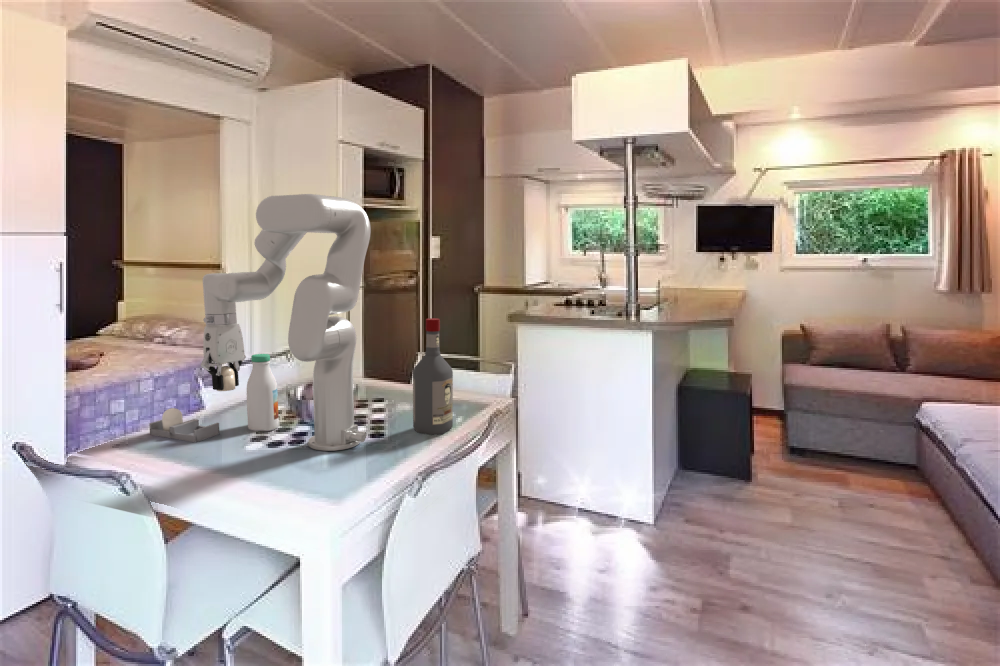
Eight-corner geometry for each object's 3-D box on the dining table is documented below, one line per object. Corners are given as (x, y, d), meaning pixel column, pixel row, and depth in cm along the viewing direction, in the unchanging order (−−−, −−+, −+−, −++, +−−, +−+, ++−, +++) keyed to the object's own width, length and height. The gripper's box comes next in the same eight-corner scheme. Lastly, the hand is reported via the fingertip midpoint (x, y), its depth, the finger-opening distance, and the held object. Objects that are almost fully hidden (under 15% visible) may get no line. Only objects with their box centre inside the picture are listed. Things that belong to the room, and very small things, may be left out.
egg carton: (219, 436, 156) (219, 422, 156) (195, 444, 149) (195, 430, 149) (175, 428, 162) (174, 416, 161) (150, 436, 155) (149, 423, 154)
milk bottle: (268, 433, 159) (265, 358, 156) (241, 431, 160) (238, 356, 158) (284, 425, 166) (281, 353, 164) (259, 423, 168) (256, 351, 165)
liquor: (409, 431, 162) (408, 319, 158) (427, 423, 170) (427, 316, 166) (438, 436, 158) (438, 322, 154) (456, 427, 166) (456, 318, 162)
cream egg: (187, 430, 158) (186, 407, 157) (172, 435, 154) (170, 411, 153) (174, 428, 160) (172, 405, 159) (158, 433, 155) (157, 409, 155)
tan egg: (239, 388, 165) (237, 365, 164) (226, 391, 161) (224, 368, 160) (226, 386, 167) (224, 364, 166) (212, 390, 162) (211, 367, 162)
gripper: (206, 324, 152) (211, 395, 154) (255, 317, 168) (259, 382, 170) (183, 323, 155) (189, 393, 157) (234, 316, 170) (239, 380, 173)
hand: (226, 386), depth 164 cm, fingers closed on tan egg, 4 cm apart
